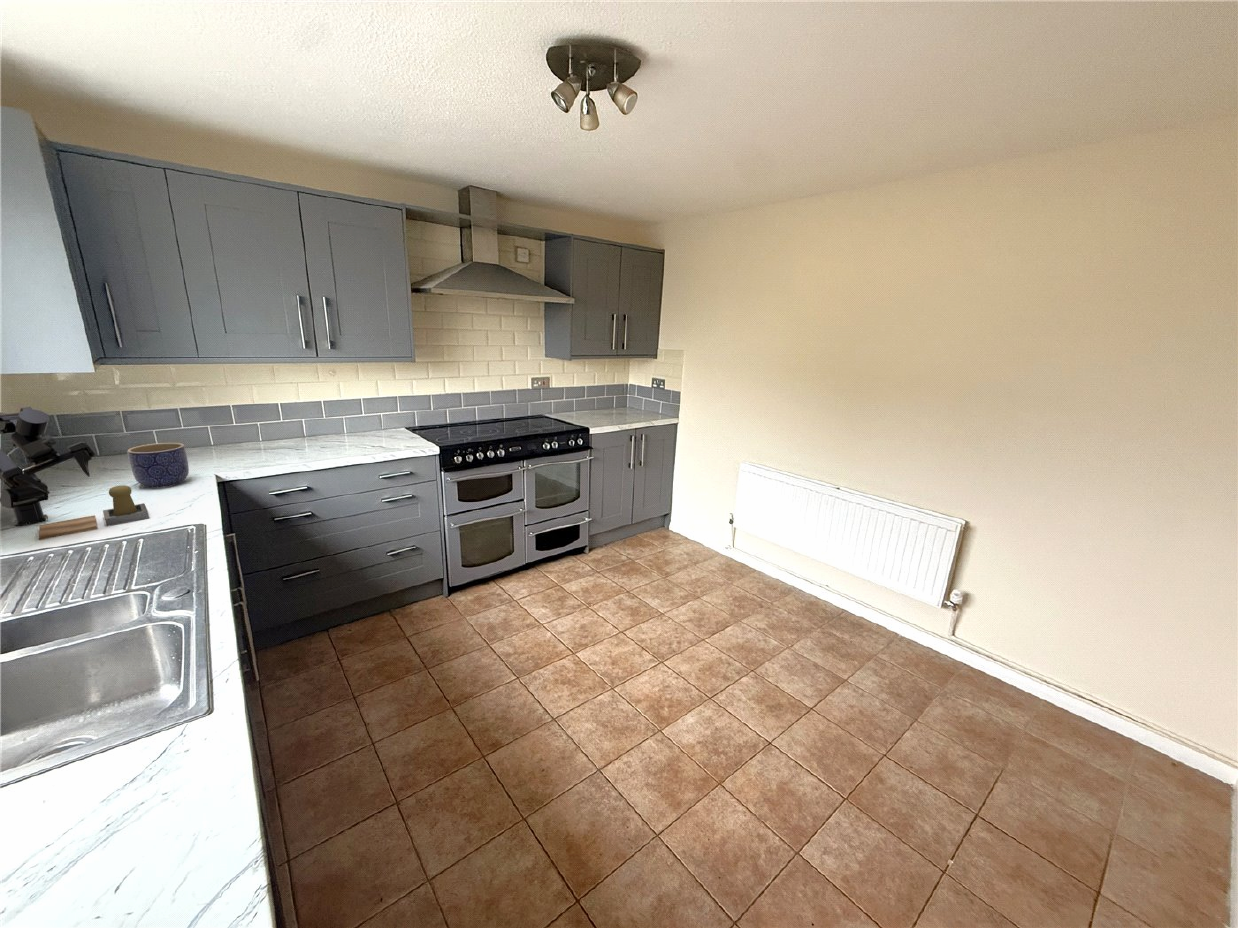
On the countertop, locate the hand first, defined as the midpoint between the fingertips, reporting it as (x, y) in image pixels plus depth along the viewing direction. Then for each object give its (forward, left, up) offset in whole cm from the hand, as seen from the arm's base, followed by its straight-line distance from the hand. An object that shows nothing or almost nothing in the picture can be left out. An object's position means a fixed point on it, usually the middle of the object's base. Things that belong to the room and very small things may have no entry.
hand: (69, 484), depth 145 cm
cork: (-8, +10, -16) cm, 21 cm away
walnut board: (-8, -3, -16) cm, 18 cm away
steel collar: (-8, +10, -16) cm, 21 cm away
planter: (-44, +23, -16) cm, 53 cm away
